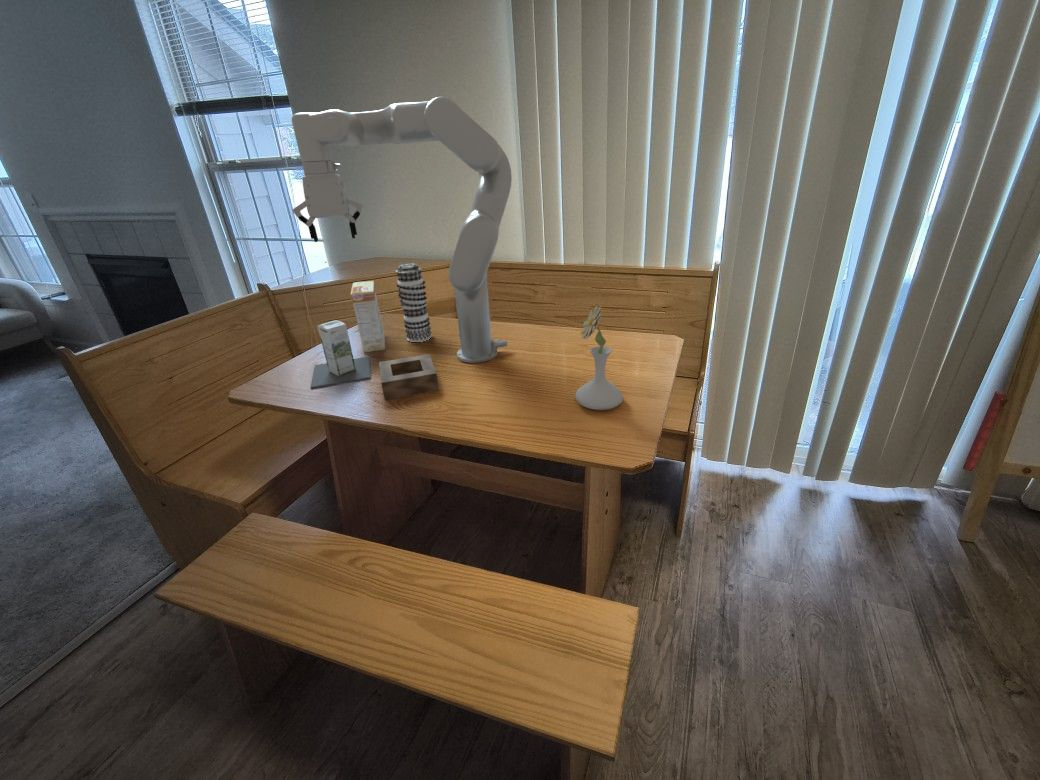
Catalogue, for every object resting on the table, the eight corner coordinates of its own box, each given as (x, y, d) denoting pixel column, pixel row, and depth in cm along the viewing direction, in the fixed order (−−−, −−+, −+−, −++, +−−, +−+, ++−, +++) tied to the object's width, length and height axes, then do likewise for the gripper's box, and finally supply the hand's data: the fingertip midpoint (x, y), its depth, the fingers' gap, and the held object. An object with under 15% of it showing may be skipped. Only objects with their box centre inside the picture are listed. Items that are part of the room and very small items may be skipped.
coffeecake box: (364, 337, 158) (352, 282, 149) (385, 334, 160) (374, 280, 151) (362, 352, 146) (349, 293, 137) (385, 349, 147) (373, 290, 138)
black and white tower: (434, 341, 152) (423, 266, 140) (406, 344, 150) (392, 269, 138) (432, 332, 160) (421, 260, 148) (405, 335, 158) (393, 263, 146)
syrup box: (346, 365, 135) (335, 319, 129) (357, 370, 132) (345, 322, 125) (328, 371, 132) (316, 324, 125) (339, 376, 128) (326, 328, 122)
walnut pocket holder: (431, 369, 131) (429, 354, 129) (439, 390, 119) (436, 373, 117) (382, 378, 127) (378, 362, 125) (384, 400, 116) (381, 382, 113)
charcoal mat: (369, 358, 141) (369, 356, 141) (371, 378, 128) (370, 376, 127) (315, 366, 137) (314, 365, 137) (310, 389, 123) (310, 387, 123)
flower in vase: (581, 389, 116) (583, 293, 104) (626, 395, 112) (633, 296, 101) (567, 414, 105) (568, 310, 94) (616, 421, 101) (623, 314, 90)
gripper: (354, 167, 120) (367, 234, 128) (284, 171, 115) (302, 240, 123) (354, 167, 113) (368, 238, 121) (280, 171, 109) (299, 244, 117)
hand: (335, 239), depth 122 cm, fingers open, 9 cm apart
